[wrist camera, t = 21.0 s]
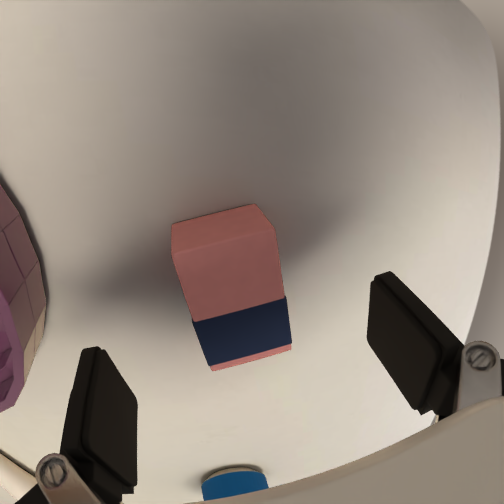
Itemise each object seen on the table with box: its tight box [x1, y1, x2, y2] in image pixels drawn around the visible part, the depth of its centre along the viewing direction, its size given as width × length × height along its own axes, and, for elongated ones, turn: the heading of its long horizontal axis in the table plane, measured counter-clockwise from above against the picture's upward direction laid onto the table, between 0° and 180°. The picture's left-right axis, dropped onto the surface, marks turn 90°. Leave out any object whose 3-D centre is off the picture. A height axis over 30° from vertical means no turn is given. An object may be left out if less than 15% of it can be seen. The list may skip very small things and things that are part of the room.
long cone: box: [0, 453, 37, 501], centre depth 19 cm, size 6×6×19 cm
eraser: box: [171, 204, 292, 371], centre depth 15 cm, size 6×4×3 cm, turn 10°
